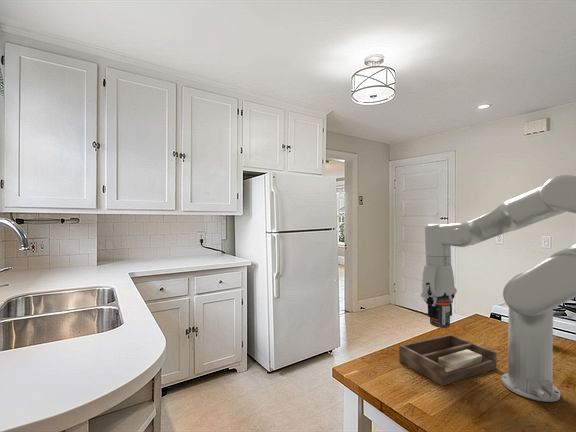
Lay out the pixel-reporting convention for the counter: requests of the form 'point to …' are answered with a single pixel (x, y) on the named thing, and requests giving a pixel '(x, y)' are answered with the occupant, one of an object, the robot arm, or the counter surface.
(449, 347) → the walnut divided tray
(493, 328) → the counter surface
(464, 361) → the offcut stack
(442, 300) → the supplement bottle
